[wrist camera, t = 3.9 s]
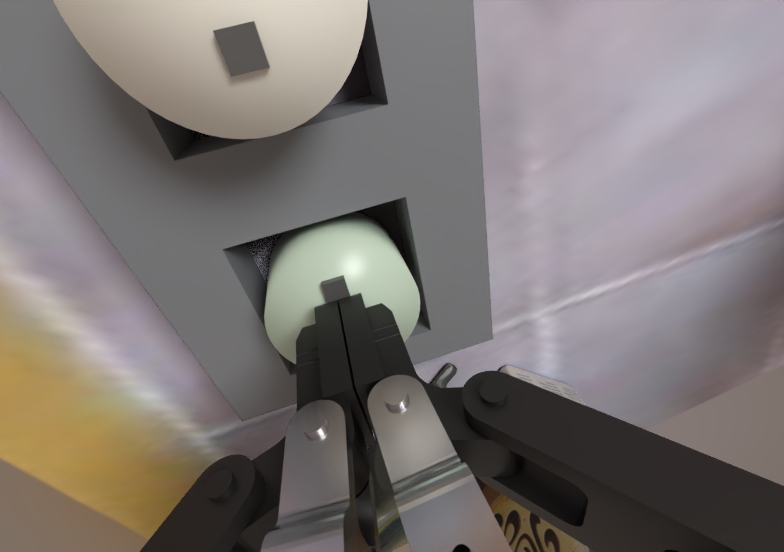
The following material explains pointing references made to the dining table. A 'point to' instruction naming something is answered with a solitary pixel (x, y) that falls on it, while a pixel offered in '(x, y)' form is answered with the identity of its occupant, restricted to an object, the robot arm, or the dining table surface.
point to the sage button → (335, 276)
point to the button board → (272, 183)
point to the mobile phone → (383, 490)
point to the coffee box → (521, 527)
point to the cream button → (223, 57)
